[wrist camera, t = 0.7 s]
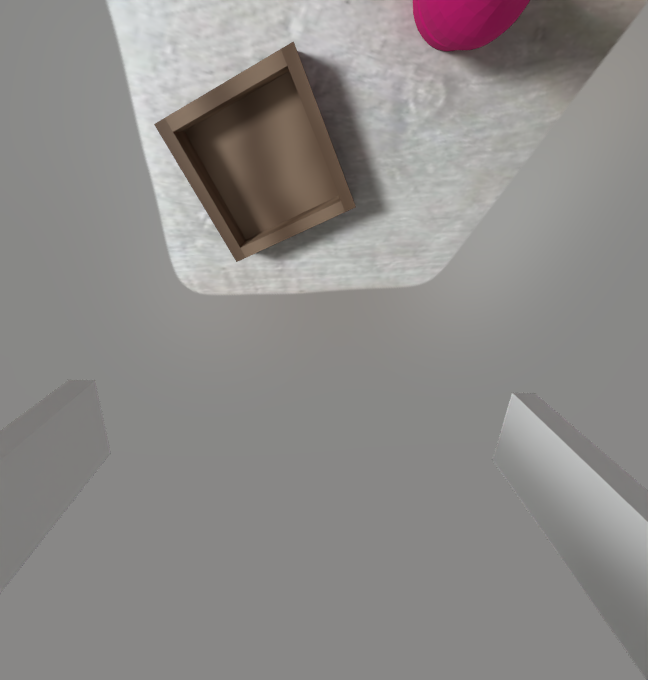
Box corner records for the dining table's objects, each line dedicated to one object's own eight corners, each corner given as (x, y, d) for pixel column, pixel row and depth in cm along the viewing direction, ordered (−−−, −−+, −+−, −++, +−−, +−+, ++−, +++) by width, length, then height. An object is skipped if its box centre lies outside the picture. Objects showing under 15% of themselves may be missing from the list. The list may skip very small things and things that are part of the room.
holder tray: (296, 50, 27) (293, 41, 24) (352, 199, 33) (355, 207, 30) (171, 124, 30) (154, 124, 27) (243, 250, 35) (236, 261, 32)
